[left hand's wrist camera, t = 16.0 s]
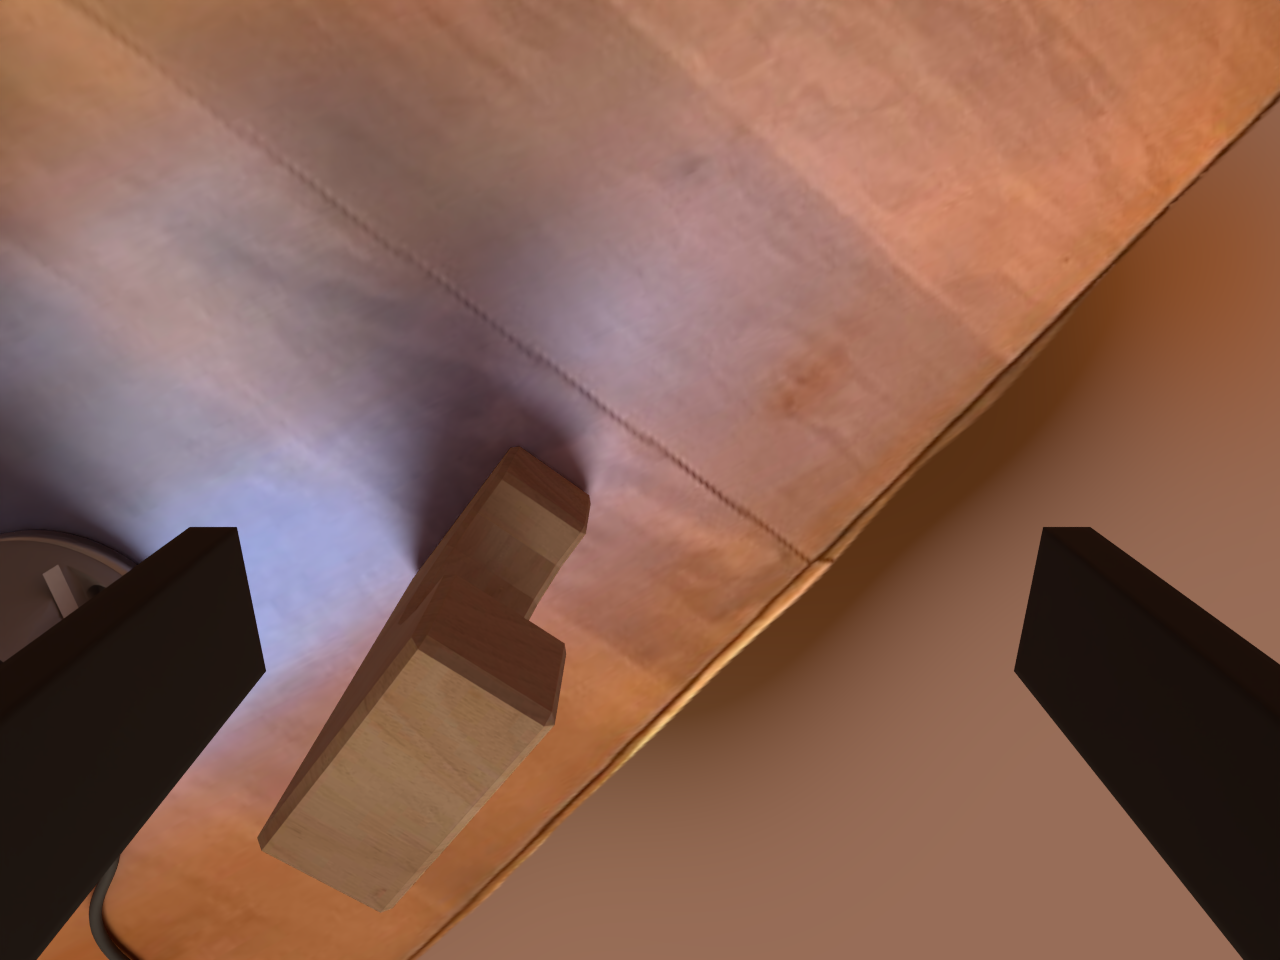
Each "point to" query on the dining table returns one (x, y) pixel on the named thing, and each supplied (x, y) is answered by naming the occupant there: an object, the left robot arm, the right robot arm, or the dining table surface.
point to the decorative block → (438, 696)
